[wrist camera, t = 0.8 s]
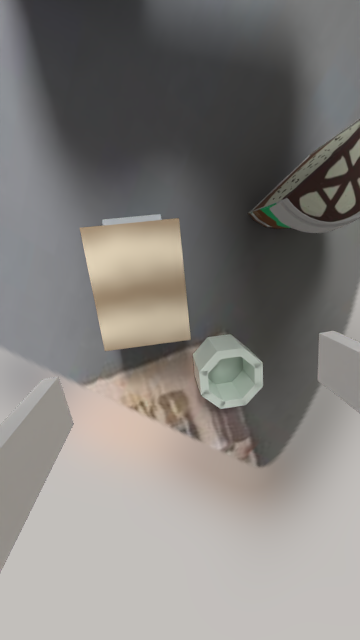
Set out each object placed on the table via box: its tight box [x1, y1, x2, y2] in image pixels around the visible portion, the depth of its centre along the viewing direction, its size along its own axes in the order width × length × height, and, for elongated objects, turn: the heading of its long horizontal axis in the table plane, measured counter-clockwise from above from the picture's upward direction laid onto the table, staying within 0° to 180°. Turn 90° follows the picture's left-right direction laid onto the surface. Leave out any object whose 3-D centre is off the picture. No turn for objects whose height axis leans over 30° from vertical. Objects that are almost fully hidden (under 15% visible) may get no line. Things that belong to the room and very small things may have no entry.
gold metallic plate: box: [80, 218, 191, 351], centre depth 24 cm, size 12×9×3 cm
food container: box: [248, 119, 360, 233], centre depth 23 cm, size 12×6×10 cm, turn 133°
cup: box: [193, 334, 263, 409], centre depth 30 cm, size 8×8×5 cm
